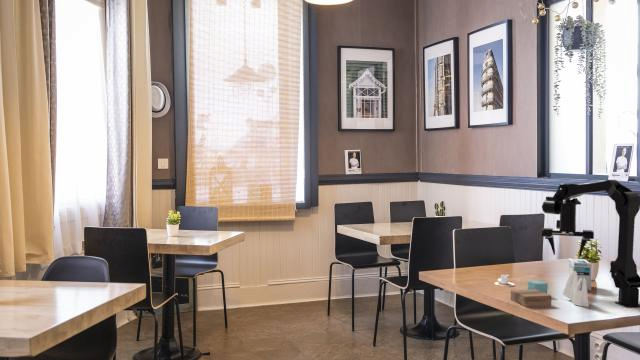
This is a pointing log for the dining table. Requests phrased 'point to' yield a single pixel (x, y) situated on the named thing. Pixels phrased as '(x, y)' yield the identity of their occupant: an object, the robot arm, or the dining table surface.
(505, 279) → the teacup and saucer
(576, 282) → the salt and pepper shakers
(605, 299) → the dining table surface
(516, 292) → the walnut block
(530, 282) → the teal cube
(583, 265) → the light bulb box
